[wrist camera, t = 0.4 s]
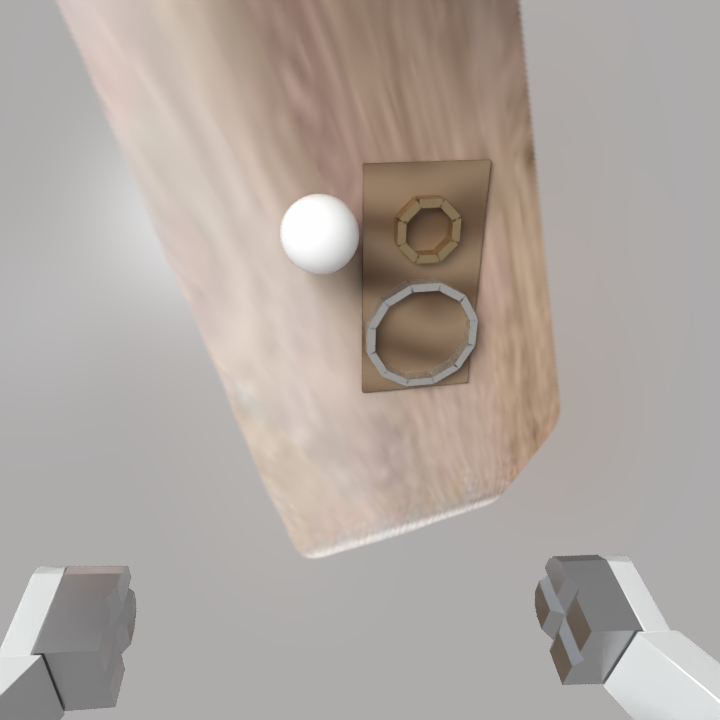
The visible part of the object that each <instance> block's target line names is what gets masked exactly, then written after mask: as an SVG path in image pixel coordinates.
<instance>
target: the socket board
mask: <svg viewBox="0 0 720 720" xmlns="http://www.w3.org/2000/svg"><path fill="white" fill-rule="evenodd" d="M490 165H491V160H458V161H426V162H394V163H363V260H362V392H374V391H384V390H395V389H405V388H415V387H426V386H436V385H447V384H457V383H467V381H468V372H469V362H470V353H471V351H472V349H473V348H474V347H475V346H474V345H475V342H476V333H477V324H478V318H477V316H476V314H475V306H476V297H477V287H478V278H479V269H480V259H481V250H482V240H483V231H484V222H485V212H486V203H487V194H488V184H489V175H490Z"/></svg>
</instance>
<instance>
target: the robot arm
mask: <svg viewBox="0 0 720 720" xmlns="http://www.w3.org/2000/svg"><path fill="white" fill-rule="evenodd" d="M545 569H546V572H547V574H548V575H547V576H546V577H545V578H543V579H542V580H540V581H539V583H538V586H537V588H536V591H535V608H536V613H537V617H538V620H539V623H540V626H541V629H542V630H543V631H544V632H546V634H547V635H549V636H550V637H551V638H552V639H553V642H552V645H551V648H550V653H551V655H552V658H553V661H554V664H555V666H556V669H557V672H558V674H559V677H560V680H561V682H562V684H563V685H570V684H604V687H605V688H606V690H607V691H608V692H609V693H610V694H611V695H612V696H613V697H614V698H615V699H616V700H617V702H618V703H619V704H620V705H621V706H622V707H623V708H624V709H625V710H626V711H627V712H628V714H629V715H630V716H631V717H632V718H633V719H634V720H720V663H718V662H717V661H716V660H715V659H713V658H712V657H711V656H709V655H708V654H707V653H706V652H704V651H703V650H702V649H700V648H699V647H698V646H697V645H696V644H694V643H693V642H692V641H691V640H689V639H688V638H687V637H685V636H684V635H683V634H682V633H680V632H679V631H678V630H670V629H669V627H668V625H667V623H666V621H665V620H664V618H663V616H662V615H661V613H660V611H659V609H658V607H657V606H656V604H655V602H654V600H653V599H652V597H651V595H650V593H649V592H648V590H647V588H646V587H645V585H644V583H643V581H642V579H641V578H640V576H639V574H638V572H637V571H636V569H635V567H634V565H633V564H632V562H631V560H630V559H629V558H627V557H626V556H625V555H604V556H599V555H583V556H582V555H580V556H556V557H555V556H554V557H552V558H550V559H549V560H548V562H547V564H546V566H545ZM130 580H131V575H130V571H129V567H128V566H50V567H39V568H38V569H37V570H36V572H35V573H34V574H33V575H32V577H31V579H30V582H29V584H28V586H27V589H26V591H25V593H24V595H23V598H22V600H21V602H20V605H19V607H18V609H17V612H16V614H15V616H14V618H13V621H12V623H11V626H10V628H9V630H8V632H7V635H6V637H5V639H4V642H3V644H2V646H1V649H0V720H60V719H61V718H62V717H63V716H64V711H71V710H83V709H97V708H109V707H115V706H116V702H117V698H118V694H119V690H120V686H121V682H122V678H123V674H124V670H125V668H124V664H123V659H122V655H121V654H122V653H123V652H124V651H125V650H126V649H127V648H128V647H129V645H130V644H131V641H132V636H133V632H134V626H135V618H136V599H135V594H134V592H133V591H132V590H131V589H129V588H128V587H129V584H130Z"/></svg>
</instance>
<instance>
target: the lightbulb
mask: <svg viewBox="0 0 720 720" xmlns="http://www.w3.org/2000/svg"><path fill="white" fill-rule="evenodd" d="M280 240H281V244H282V248H283V250H284V252H285V254H286V256H287V257H288V258H289V260H290V261H291V262H292V263H293V264H294V265H295V266H297V267H298V268H299V269H301V270H303V271H305V272H308V273H312V274H319V275H322V274H329V273H333V272H335V271H337V270H339V269H341V268H342V267H344V266H345V265H346V264H347V263H348V262H349V261H350V260H351V259H352V257H353V256H354V254H355V252H356V250H357V247H358V243H359V226H358V222H357V220H356V217H355V215H354V213H353V212H352V210H351V209H350V208H349V207H348V206H347V205H346V204H345V203H344V202H343V201H341V200H340V199H338V198H336V197H334V196H331V195H327V194H311V195H307V196H304V197H302V198H300V199H299V200H297V201H296V202H294V203H293V204H292V205H291V206H290V207H289V209H288V210H287V211H286V213H285V215H284V217H283V219H282V223H281V227H280Z"/></svg>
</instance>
